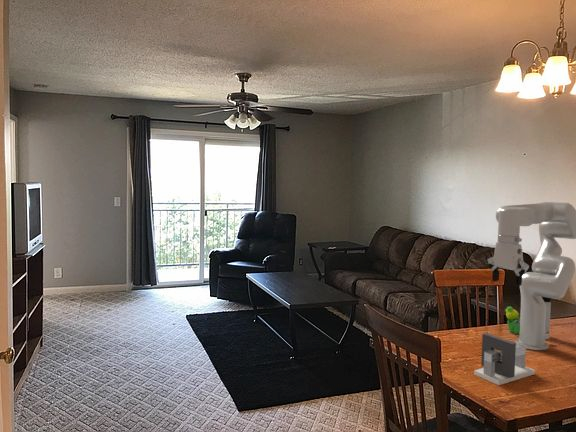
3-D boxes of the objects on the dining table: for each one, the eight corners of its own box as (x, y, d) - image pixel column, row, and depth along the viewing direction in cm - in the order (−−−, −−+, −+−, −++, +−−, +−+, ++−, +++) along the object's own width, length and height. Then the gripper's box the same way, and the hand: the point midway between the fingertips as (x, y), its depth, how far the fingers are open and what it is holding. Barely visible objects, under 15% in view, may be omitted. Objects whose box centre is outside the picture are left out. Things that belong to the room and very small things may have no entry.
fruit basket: (525, 335, 208) (526, 311, 207) (504, 332, 212) (505, 308, 212) (526, 329, 218) (527, 305, 217) (505, 326, 222) (506, 303, 221)
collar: (484, 364, 169) (486, 333, 168) (514, 376, 159) (515, 343, 158) (481, 365, 168) (482, 333, 167) (510, 377, 158) (512, 344, 157)
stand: (509, 364, 175) (510, 347, 174) (534, 374, 166) (535, 356, 165) (474, 374, 165) (474, 357, 165) (498, 385, 156) (499, 366, 156)
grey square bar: (517, 351, 171) (518, 342, 171) (526, 354, 168) (526, 345, 168) (483, 360, 162) (483, 351, 162) (491, 363, 159) (492, 354, 159)
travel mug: (552, 339, 203) (554, 295, 202) (536, 338, 205) (538, 294, 203) (547, 334, 209) (549, 292, 208) (531, 333, 211) (533, 291, 209)
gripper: (535, 241, 171) (533, 286, 172) (495, 236, 186) (493, 278, 188) (522, 243, 168) (520, 288, 169) (482, 237, 183) (481, 279, 184)
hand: (506, 283), depth 178 cm, fingers open, 9 cm apart
